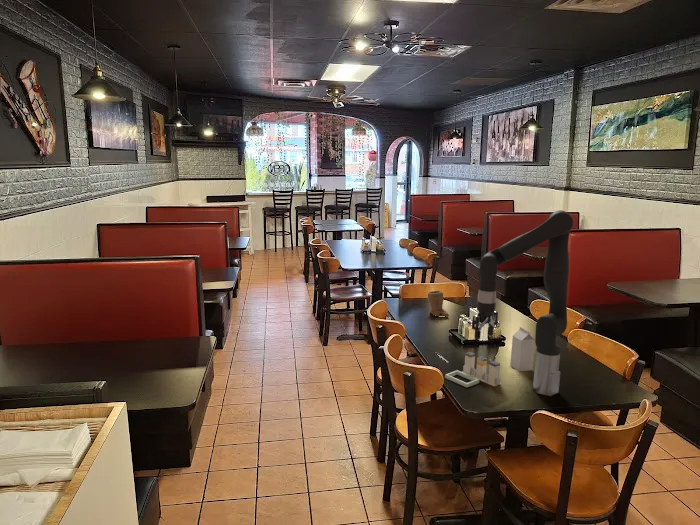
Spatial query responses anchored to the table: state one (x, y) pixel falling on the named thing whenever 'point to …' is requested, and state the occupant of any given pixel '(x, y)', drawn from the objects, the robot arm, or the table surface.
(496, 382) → the block
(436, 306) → the brown boot
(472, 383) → the tray
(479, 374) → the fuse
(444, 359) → the butter knife
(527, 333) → the milk carton
